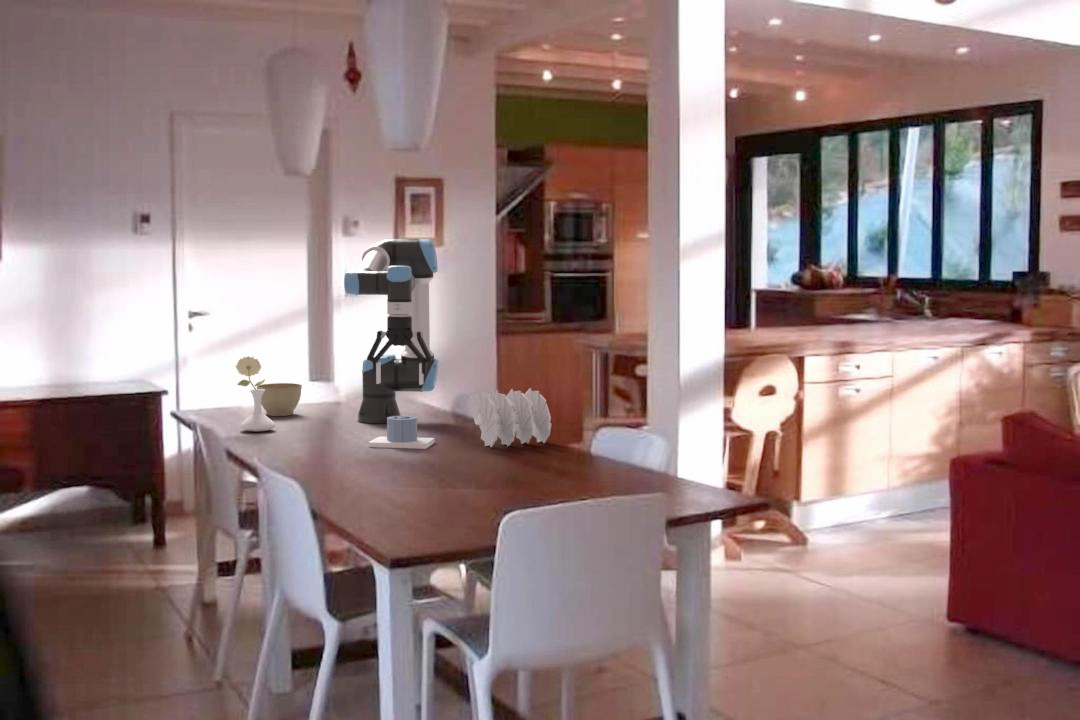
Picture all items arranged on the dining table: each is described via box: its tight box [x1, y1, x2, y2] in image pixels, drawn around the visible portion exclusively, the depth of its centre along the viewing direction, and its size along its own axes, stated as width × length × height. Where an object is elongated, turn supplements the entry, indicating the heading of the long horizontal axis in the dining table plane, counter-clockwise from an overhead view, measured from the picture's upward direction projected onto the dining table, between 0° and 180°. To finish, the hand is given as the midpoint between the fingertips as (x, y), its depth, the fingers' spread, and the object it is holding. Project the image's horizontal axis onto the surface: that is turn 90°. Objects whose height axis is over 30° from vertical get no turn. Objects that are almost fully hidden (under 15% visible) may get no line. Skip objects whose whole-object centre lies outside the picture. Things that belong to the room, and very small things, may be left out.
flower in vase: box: [235, 356, 276, 433], centre depth 394 cm, size 13×11×25 cm
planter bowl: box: [256, 382, 303, 417], centre depth 435 cm, size 16×16×11 cm
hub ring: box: [386, 415, 418, 442], centre depth 369 cm, size 9×9×7 cm
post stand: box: [368, 417, 436, 450], centre depth 368 cm, size 12×18×8 cm, turn 83°
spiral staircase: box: [466, 387, 552, 448], centre depth 370 cm, size 18×18×25 cm
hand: (399, 383), depth 369 cm, fingers open, 13 cm apart
